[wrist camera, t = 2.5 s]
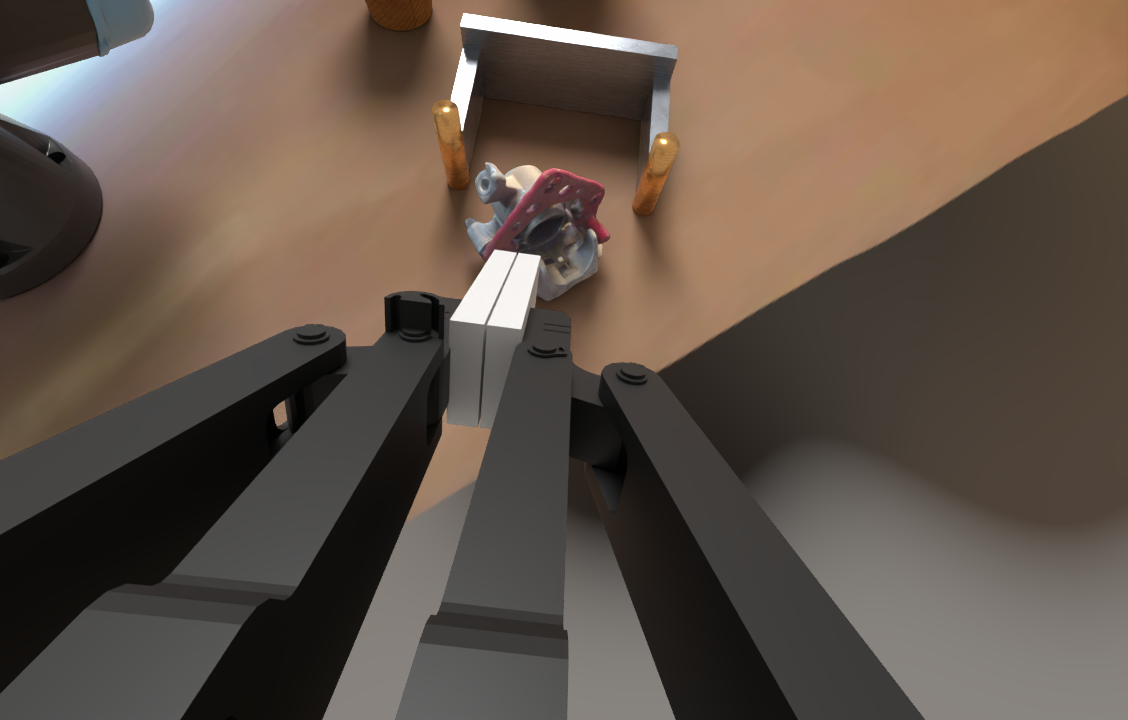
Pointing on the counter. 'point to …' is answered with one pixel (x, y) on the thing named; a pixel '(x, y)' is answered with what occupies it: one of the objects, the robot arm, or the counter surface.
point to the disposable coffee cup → (400, 13)
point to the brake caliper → (542, 223)
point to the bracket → (560, 90)
